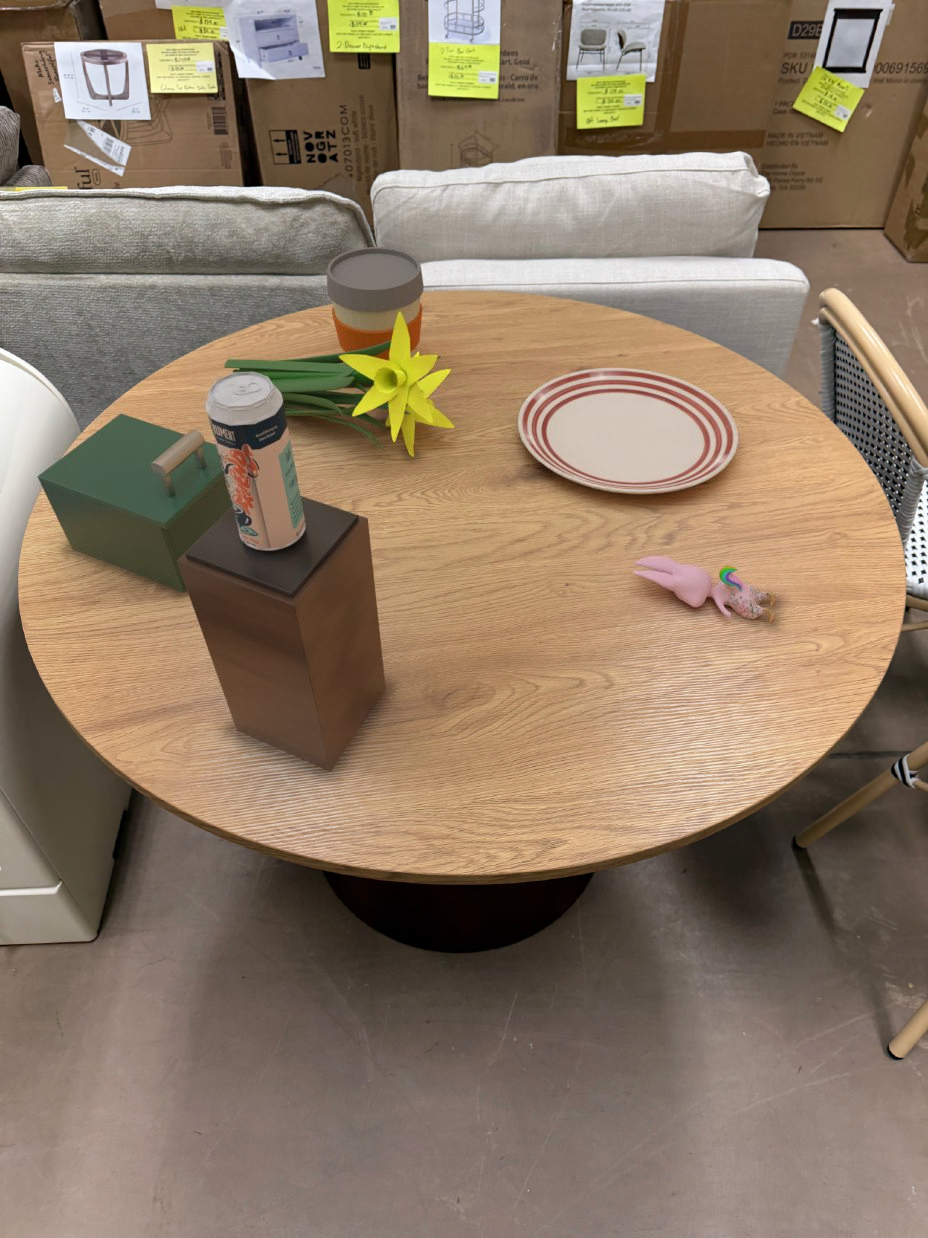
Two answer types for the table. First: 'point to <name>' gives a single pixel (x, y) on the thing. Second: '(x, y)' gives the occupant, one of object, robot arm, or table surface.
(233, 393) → the beer can
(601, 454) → the dinner plate
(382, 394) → the daffodil flowers
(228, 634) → the stand
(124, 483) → the lid
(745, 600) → the rabbit figure
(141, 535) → the box
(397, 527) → the table surface
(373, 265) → the reusable coffee cup
